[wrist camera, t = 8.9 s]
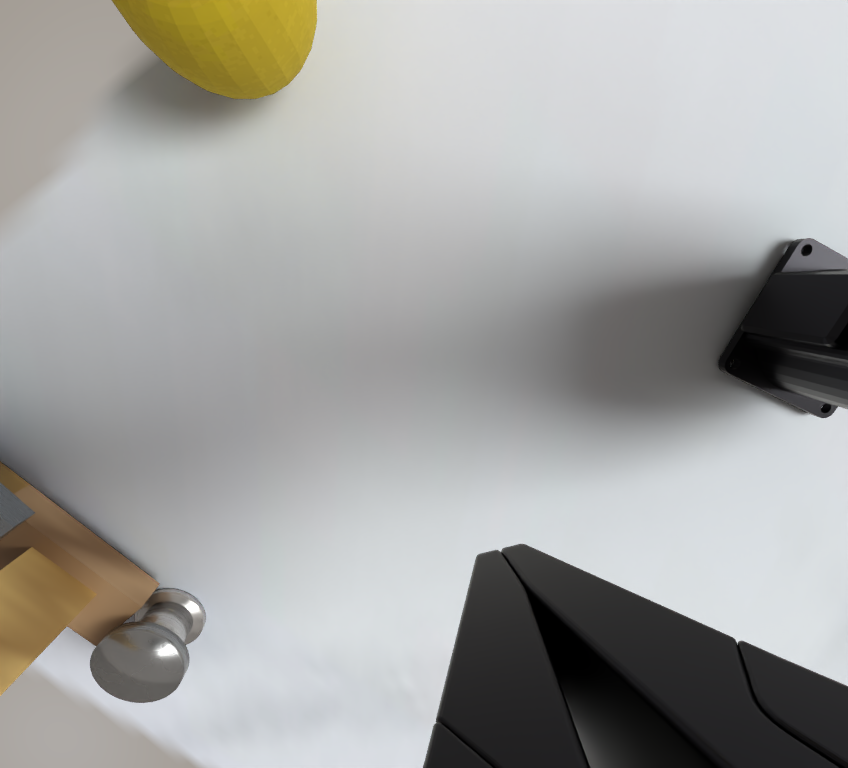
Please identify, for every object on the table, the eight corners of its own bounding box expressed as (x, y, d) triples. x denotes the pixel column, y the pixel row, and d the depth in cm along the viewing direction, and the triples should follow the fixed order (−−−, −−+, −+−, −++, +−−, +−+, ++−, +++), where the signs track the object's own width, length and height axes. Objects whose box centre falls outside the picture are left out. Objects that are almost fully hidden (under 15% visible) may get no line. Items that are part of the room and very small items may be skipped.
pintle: (221, 597, 22) (193, 647, 19) (198, 655, 22) (169, 712, 19) (143, 573, 21) (102, 621, 18) (123, 634, 22) (80, 689, 19)
